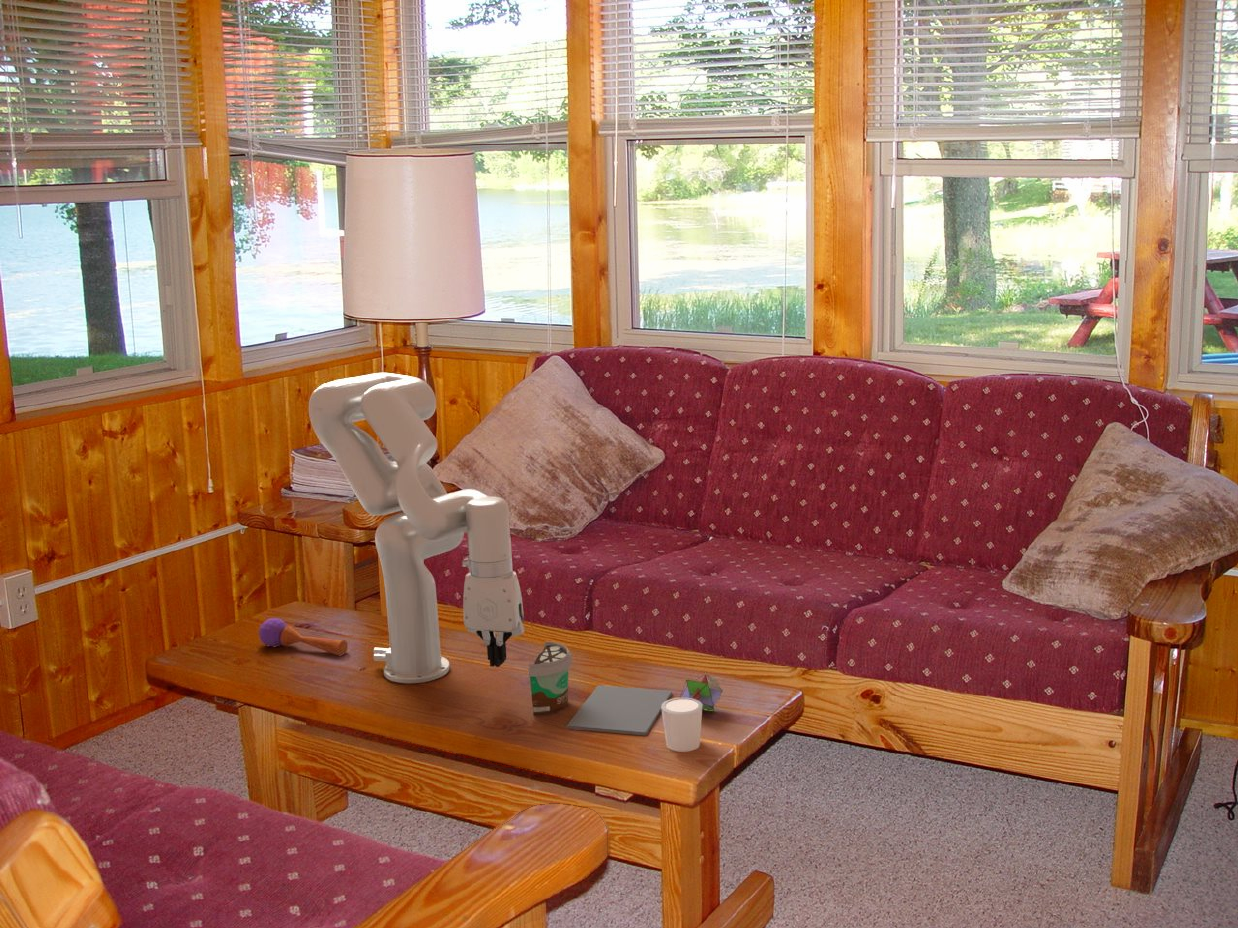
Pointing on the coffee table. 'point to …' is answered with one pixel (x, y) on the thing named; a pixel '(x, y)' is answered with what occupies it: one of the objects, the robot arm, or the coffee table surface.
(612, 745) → the coffee table surface
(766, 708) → the coffee table surface
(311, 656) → the coffee table surface
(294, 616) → the coffee table surface
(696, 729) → the shot glass
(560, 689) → the food container
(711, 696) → the geometric puzzle
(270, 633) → the kendama
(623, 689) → the mat
